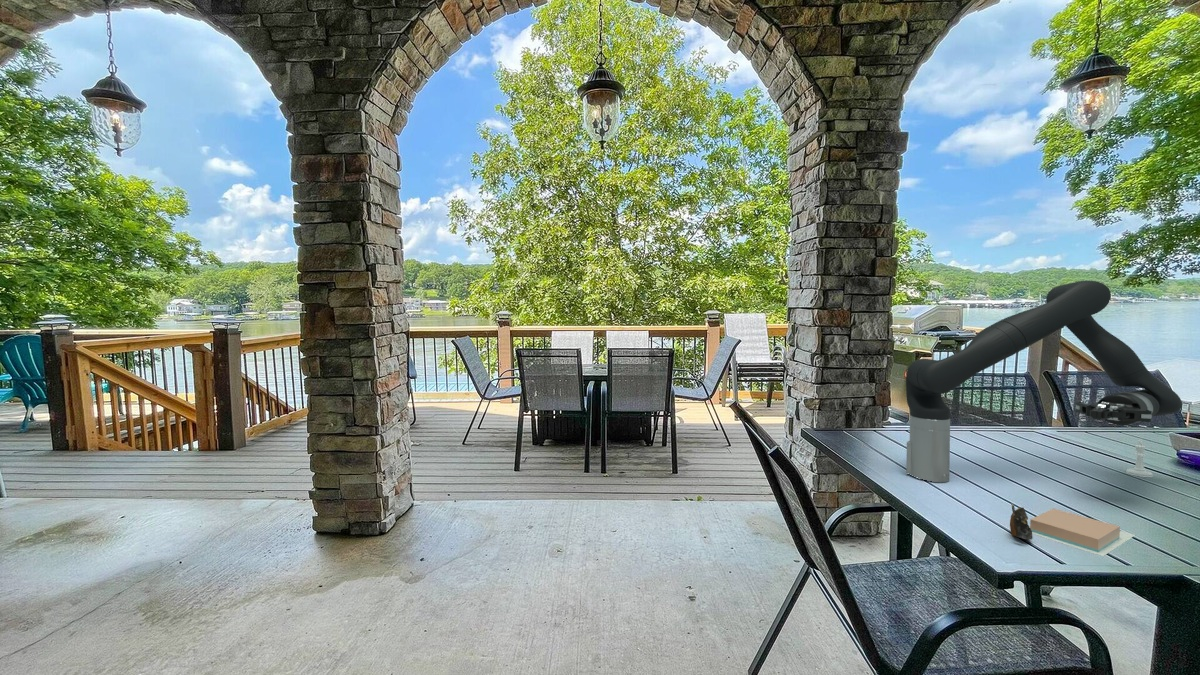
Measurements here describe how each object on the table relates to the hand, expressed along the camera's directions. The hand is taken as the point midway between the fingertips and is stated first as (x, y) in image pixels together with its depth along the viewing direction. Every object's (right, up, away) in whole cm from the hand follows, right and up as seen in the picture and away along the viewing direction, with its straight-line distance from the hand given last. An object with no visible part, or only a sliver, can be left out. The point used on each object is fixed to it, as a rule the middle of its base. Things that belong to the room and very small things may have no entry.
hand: (1097, 414), depth 105 cm
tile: (-11, -21, -8) cm, 25 cm away
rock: (-29, -24, -12) cm, 39 cm away
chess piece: (+38, -21, +24) cm, 49 cm away
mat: (-14, -23, -10) cm, 29 cm away
